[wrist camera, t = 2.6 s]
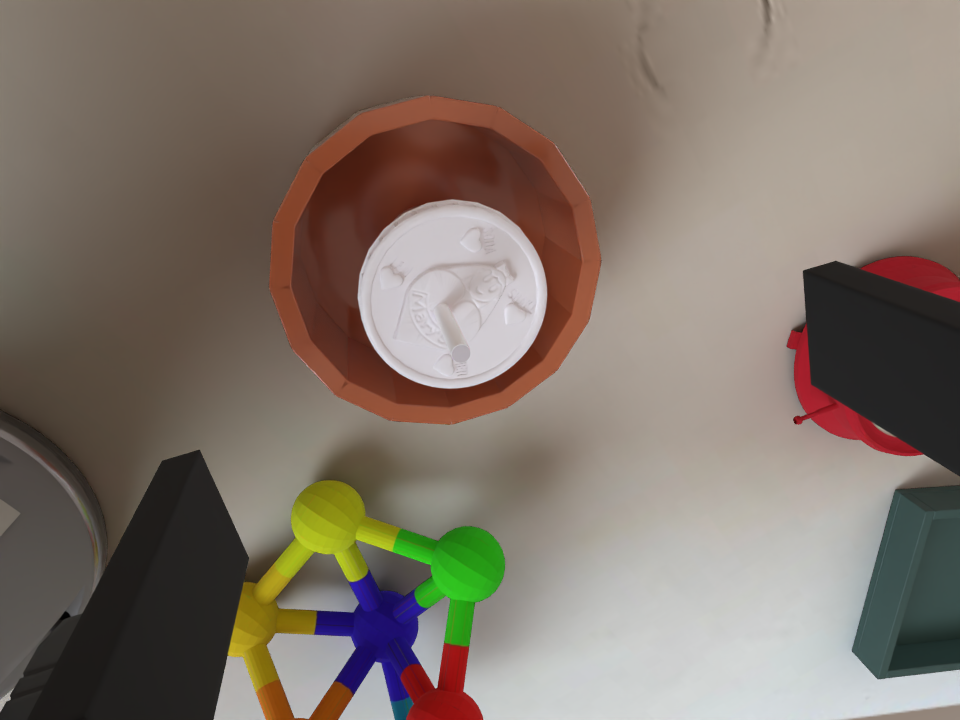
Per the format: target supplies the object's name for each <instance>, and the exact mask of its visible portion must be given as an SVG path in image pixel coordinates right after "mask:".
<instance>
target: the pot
mask: <svg viewBox="0 0 960 720" xmlns="http://www.w3.org/2000/svg"><path fill="white" fill-rule="evenodd" d="M451 199H454V200H462V201H470V202H478V203H480V204H482V205H485V206H487V207H489V208H492V209H494V210H497V211H499V212H501V213H502V214H503V215H505V216H506V217H507V218H508V219H510V220H511V221H512V222H513V223H515V224H516V225H517V226H518V227H520V229H521V230H522V232H523V233H524V234H525V236H526V237H527V238H528V240H529V241H530V242H531V244H532V245H533V247H534V248H535V250H536V252H537V254H538V256H539V258H540V260H541V263H542V266H543V268H544V272H545V277H546V283H547V304H546V311H545V315H544V319H543V322H542V325H541V328H540V330H539V332H538V334H537V336H536V338H535V340H534V342H533V343H532V345H531V346H530V348H529V349H528V350H527V352H526V353H525V354H524V355H523V356H522V357H521V359H520V360H518V361H517V362H516V363H515V364H514V365H513V366H512V367H510V368H509V369H508V370H507V371H505V372H504V373H502V374H500V375H499V376H497V377H495V378H493V379H491V380H489V381H486V382H484V383H481V384H478V385H474V386H469V387H464V388H450V389H449V388H437V387H431V386H427V385H423V384H420V383H417V382H415V381H412V380H410V379H408V378H406V377H404V376H403V375H401V374H399V373H398V372H397V371H395V370H394V369H393V368H391V367H390V366H389V365H388V364H387V363H386V362H385V361H384V360H383V359H382V358H381V357H380V356H379V354H378V353H377V352H376V350H375V349H374V347H373V345H372V344H371V342H370V340H369V338H368V336H367V334H366V331H365V328H364V325H363V323H362V319H361V314H360V308H359V303H358V286H359V275H360V271H361V268H362V266H363V263H364V261H365V258H366V255H367V253H368V250H369V248H370V247H371V246H372V244H373V243H374V242H375V240H376V239H377V238H378V236H379V235H380V233H381V232H382V231H383V229H384V228H386V227H387V226H388V225H389V224H391V223H392V222H393V221H394V220H395V218H396V217H397V216H398V215H400V214H401V213H402V212H404V211H405V210H407V209H409V208H411V207H414V206H419V205H424V204H426V203H430V202H437V201H444V200H451ZM600 266H601V254H600V248H599V243H598V237H597V232H596V226H595V221H594V215H593V210H592V204H591V200H590V197H589V195H588V193H587V192H586V190H585V189H584V187H583V186H582V184H581V183H580V181H579V180H578V178H577V176H576V175H575V173H574V172H573V170H572V169H571V167H570V166H569V164H568V163H567V161H566V160H565V158H564V157H563V155H562V153H561V152H560V150H559V149H558V147H557V146H556V145H555V144H554V142H552V141H551V140H549V139H548V138H546V137H545V136H543V135H542V134H540V133H539V132H537V131H535V130H534V129H532V128H531V127H529V126H528V125H526V124H525V123H523V122H522V121H520V120H519V119H517V118H516V117H514V116H513V115H511V114H510V113H508V112H507V111H505V110H503V109H502V108H500V107H497V106H494V105H488V104H482V103H476V102H470V101H464V100H458V99H451V98H445V97H439V96H433V95H424V96H412V97H408V98H405V99H401V100H397V101H393V102H390V103H385V104H382V105H378V106H374V107H371V108H367V109H363V110H359V111H358V112H356V113H355V114H353V115H352V116H351V117H350V118H348V119H347V120H346V121H345V122H344V123H342V124H341V125H340V126H339V127H337V128H336V129H335V130H334V131H332V132H331V133H330V134H329V135H327V136H326V137H325V138H324V139H322V140H321V141H320V142H319V143H318V144H316V145H315V146H314V147H313V148H312V149H311V151H310V152H309V153H308V155H307V156H306V157H305V159H304V160H303V162H302V164H301V166H300V168H299V170H298V172H297V174H296V176H295V178H294V180H293V182H292V184H291V186H290V188H289V190H288V192H287V194H286V195H285V197H284V199H283V201H282V203H281V205H280V207H279V209H278V211H277V213H276V215H275V217H274V220H273V222H272V240H271V259H270V277H269V288H270V293H271V295H272V298H273V301H274V303H275V306H276V309H277V311H278V314H279V317H280V320H281V322H282V325H283V328H284V330H285V333H286V336H287V338H288V341H289V344H290V346H291V348H292V350H293V352H294V353H295V354H296V355H297V356H298V357H299V358H300V359H301V360H302V361H303V362H304V363H305V364H306V365H307V366H308V367H309V369H310V370H311V371H312V372H313V373H314V374H315V375H316V376H317V377H318V378H319V379H320V380H321V381H322V382H323V383H324V384H325V385H326V387H327V388H328V389H329V390H330V391H331V392H332V393H333V394H334V395H336V396H337V397H339V398H342V399H344V400H346V401H348V402H350V403H352V404H355V405H357V406H359V407H361V408H363V409H366V410H368V411H370V412H372V413H374V414H376V415H379V416H381V417H383V418H385V419H387V420H390V421H399V422H415V423H431V424H447V425H450V424H456V423H459V422H462V421H466V420H469V419H472V418H476V417H479V416H482V415H485V414H489V413H492V412H495V411H499V410H502V409H505V408H508V406H511V405H512V404H514V403H515V402H516V401H518V400H519V399H520V398H522V397H523V396H524V395H526V394H527V393H528V392H529V391H531V390H532V389H533V388H535V387H536V386H537V385H539V384H540V383H541V382H543V381H544V380H545V379H547V378H548V377H549V376H551V375H552V374H553V373H555V371H557V370H558V369H559V367H560V365H561V364H562V362H563V361H564V359H565V358H566V356H567V354H568V353H569V351H570V350H571V348H572V347H573V345H574V344H575V342H576V340H577V339H578V337H579V336H580V334H581V333H582V331H583V329H584V328H585V326H586V325H587V323H588V322H589V319H590V314H591V310H592V305H593V300H594V295H595V290H596V285H597V281H598V276H599V271H600Z"/></svg>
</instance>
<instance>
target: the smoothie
mask: <svg viewBox="0 0 960 720" xmlns="http://www.w3.org/2000/svg"><path fill="white" fill-rule="evenodd" d="M358 303H359V308H360V314H361V319H362V323H363V325H364V328H365V331H366V334H367V336H368V338H369V340H370V342H371V344H372V345H373V347H374V349H375V350H376V352H377V353H378V354H379V356H380V357H381V358H382V359H383V360H384V361H385V362H386V363H387V364H388V365H389V366H390V367H391V368H393V369H394V370H395V371H397V372H398V373H399V374H401V375H403V376H404V377H406V378H408V379H410V380H412V381H415V382H417V383H420V384H423V385H427V386H431V387H437V388H449V389H450V388H464V387H469V386H474V385H478V384H481V383H484V382H486V381H489V380H491V379H493V378H495V377H497V376H499V375H500V374H502V373H504V372H505V371H507V370H508V369H509V368H510V367H512V366H513V365H514V364H515V363H516V362H517V361H518V360H520V359H521V357H522V356H523V355H524V354H525V353H526V352H527V350H528V349H529V348H530V346H531V345H532V343H533V342H534V340H535V338H536V336H537V334H538V332H539V330H540V328H541V325H542V322H543V319H544V315H545V311H546V304H547V283H546V277H545V272H544V268H543V266H542V263H541V260H540V258H539V256H538V254H537V252H536V250H535V248H534V247H533V245H532V244H531V242H530V241H529V240H528V238H527V237H526V236H525V234H524V233H523V232H522V230H521V229H520V227H518V226H517V225H516V224H515V223H513V222H512V221H511V220H510V219H508V218H507V217H506V216H505V215H503V214H502V213H501V212H499V211H497V210H494V209H492V208H489V207H487V206H485V205H482V204H480V203H478V202H470V201H462V200H454V199H451V200H444V201H437V202H430V203H426V204H424V205H419V206H414V207H411V208H409V209H407V210H405V211H404V212H402V213H401V214H400V215H398V216H397V217H396V218H395V220H394V221H393V222H392V223H391V224H389V225H388V226H387V227H386V228H384V229H383V231H382V232H381V233H380V235H379V236H378V238H377V239H376V240H375V242H374V243H373V244H372V246H371V247H370V248H369V250H368V253H367V255H366V258H365V261H364V263H363V266H362V268H361V271H360V275H359V286H358Z"/></svg>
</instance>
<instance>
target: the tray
mask: <svg viewBox="0 0 960 720" xmlns="http://www.w3.org/2000/svg"><path fill="white" fill-rule="evenodd" d="M852 652H853V653H854V654H855V655H856V656H857V657H858V658H859V659H860V661H861V662H862V663H863V664H864V665H865V666H866V667H867V668H868V669H869V670H870V671H871V673H872V674H873V675H874V676H875V677H876V678H877V679H885V678H893V677H901V676H910V675H918V674H927V673H935V672H943V671H952V670H960V486H945V487H930V488H915V489H900V490H895V493H894V496H893V500H892V504H891V508H890V511H889V515H888V519H887V522H886V526H885V530H884V534H883V537H882V541H881V545H880V548H879V552H878V556H877V560H876V563H875V567H874V571H873V574H872V578H871V582H870V586H869V589H868V593H867V597H866V600H865V604H864V608H863V612H862V615H861V619H860V623H859V626H858V630H857V634H856V638H855V641H854V645H853V649H852Z"/></svg>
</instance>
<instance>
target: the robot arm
mask: <svg viewBox="0 0 960 720" xmlns="http://www.w3.org/2000/svg"><path fill="white" fill-rule="evenodd" d="M803 279H804V293H805V308H806V322H807V336H808V350H809V364H810V379H811V385H813V386H814V387H816V388H818V389H819V390H821V391H822V392H824V393H826V394H827V395H829V396H831V397H832V398H834V399H835V400H837V401H839V402H840V403H842V404H843V405H845V406H847V407H848V408H850V409H852V410H853V411H855V412H856V413H858V414H860V415H861V416H863V417H865V418H866V419H868V420H869V421H871V422H873V423H874V424H876V425H877V426H879V427H881V428H882V429H884V430H886V431H887V432H889V433H890V434H892V435H894V436H895V437H897V438H899V439H900V440H902V441H903V442H905V443H907V444H908V445H910V446H911V447H913V448H915V449H916V450H918V451H920V452H921V453H923V454H924V455H926V456H928V457H929V458H931V459H932V460H934V461H936V462H937V463H939V464H941V465H942V466H944V467H945V468H947V469H949V470H950V471H952V472H954V473H955V474H957V475H958V476H960V302H958V301H955V300H952V299H949V298H946V297H943V296H940V295H937V294H934V293H931V292H928V291H925V290H922V289H919V288H916V287H913V286H910V285H907V284H904V283H901V282H898V281H895V280H892V279H889V278H886V277H883V276H880V275H877V274H874V273H871V272H868V271H865V270H862V269H859V268H856V267H853V266H850V265H847V264H844V263H841V262H838V261H834V262H830V263H827V264H824V265H820V266H817V267H814V268H810V269H807V270H803ZM106 559H107V535H106V528H105V523H104V518H103V515H102V512H101V509H100V506H99V503H98V501H97V499H96V497H95V495H94V493H93V491H92V489H91V487H90V486H89V484H88V482H87V481H86V479H85V478H84V476H83V475H82V474H81V472H80V471H79V470H78V468H77V467H76V466H75V465H74V464H73V462H72V461H71V460H70V459H69V458H68V457H67V456H66V455H65V454H64V453H63V452H62V451H61V450H60V449H59V448H58V447H57V446H55V445H54V444H53V443H52V442H51V441H50V440H48V439H47V438H46V437H44V436H43V435H42V434H40V433H39V432H38V431H36V430H34V429H33V428H31V427H30V426H28V425H27V424H25V423H23V422H22V421H20V420H18V419H16V418H14V417H12V416H10V415H8V414H7V413H4V412H2V411H0V699H1V698H3V697H4V696H5V695H6V694H7V693H8V692H10V691H11V690H12V689H13V688H14V687H15V688H14V690H13V691H12V693H11V695H10V697H11V700H10V701H7V702H6V704H5V705H4V707H3V709H2V711H1V712H0V720H213V719H214V714H215V710H216V705H217V701H218V696H219V692H220V687H221V683H222V678H223V674H224V669H225V665H226V660H227V656H228V651H229V647H230V642H231V638H232V633H233V629H234V624H235V619H236V615H237V610H238V606H239V601H240V597H241V592H242V588H243V583H244V579H245V574H246V570H247V565H248V561H249V557H248V555H247V553H246V550H245V548H244V546H243V544H242V542H241V539H240V537H239V535H238V533H237V531H236V528H235V526H234V524H233V522H232V520H231V517H230V515H229V513H228V511H227V509H226V507H225V504H224V502H223V500H222V498H221V496H220V493H219V491H218V489H217V487H216V485H215V482H214V480H213V478H212V476H211V474H210V471H209V469H208V467H207V465H206V463H205V460H204V458H203V456H202V454H201V452H200V450H197V451H194V452H190V453H187V454H183V455H180V456H177V457H173V458H170V459H167V460H163V461H162V462H161V464H160V466H159V468H158V469H157V471H156V473H155V475H154V477H153V479H152V481H151V483H150V485H149V487H148V489H147V491H146V492H145V494H144V496H143V498H142V500H141V502H140V504H139V506H138V508H137V510H136V512H135V514H134V515H133V517H132V519H131V521H130V523H129V525H128V527H127V529H126V531H125V533H124V535H123V537H122V538H121V540H120V542H119V544H118V546H117V548H116V550H115V552H114V554H113V556H112V558H111V560H110V562H109V563H108V565H107V567H106V569H105V565H106ZM104 570H105V571H104Z"/></svg>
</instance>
